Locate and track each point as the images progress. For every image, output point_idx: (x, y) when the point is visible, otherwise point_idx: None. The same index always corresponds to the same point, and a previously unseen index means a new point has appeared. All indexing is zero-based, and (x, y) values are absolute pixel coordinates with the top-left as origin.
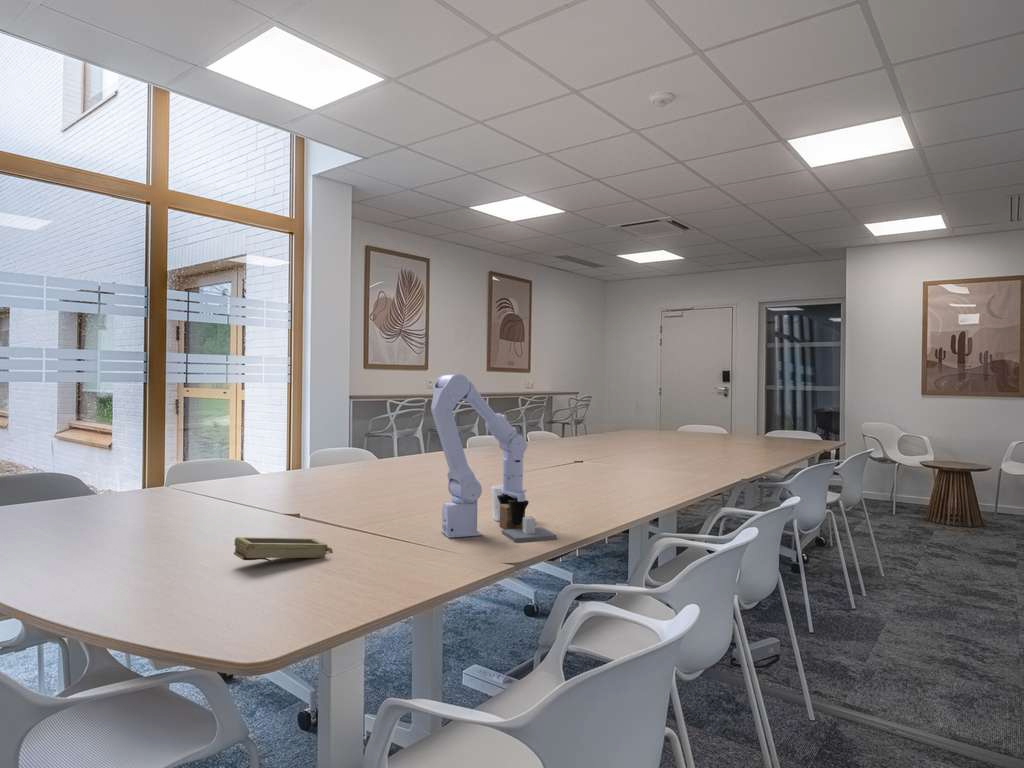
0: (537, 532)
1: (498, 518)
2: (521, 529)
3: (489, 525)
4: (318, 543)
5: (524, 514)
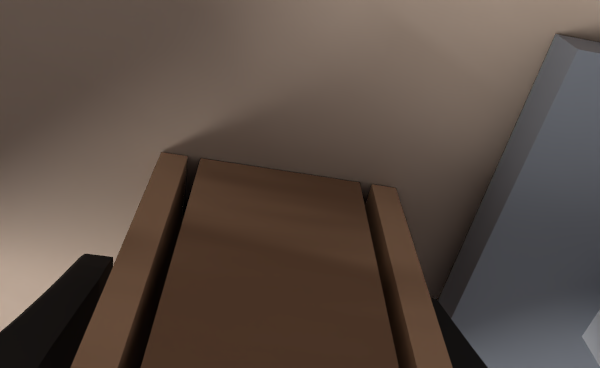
0: None
1: None
2: (504, 306)
3: None
4: None
5: (435, 330)
